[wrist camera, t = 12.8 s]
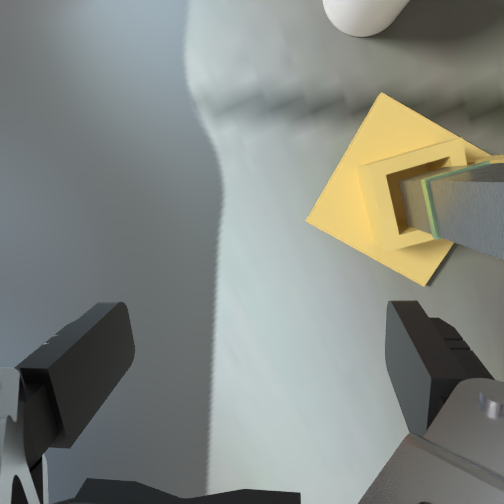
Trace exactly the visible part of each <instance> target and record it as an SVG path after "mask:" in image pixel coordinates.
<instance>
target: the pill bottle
mask: <svg viewBox="0 0 504 504" xmlns="http://www.w3.org/2000/svg"><path fill="white" fill-rule="evenodd" d="M409 1H410V0H323V5H324V9H325V12H326V14H327V16H328V18H329V20H330V21H331V22H332V24H333V25H334V26H335V27H336V28H338V29H339V30H340V31H342V32H344V33H345V34H348V35H351V36H355V37H366V36H371V35H374V34H377V33H379V32H381V31H383V30H384V29H386V28H387V27H388V26H389V25H390V24H392V23H393V22H394V20H395V19H396V18H397V17H398V15H399V14H400V13H401V11H402V10H403V9H404V7H405V6H406V5H407V4H408V2H409Z"/></svg>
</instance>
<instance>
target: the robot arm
mask: <svg viewBox="0 0 504 504" xmlns="http://www.w3.org/2000/svg"><path fill="white" fill-rule="evenodd" d="M134 354H135V346H134V340H133V335H132V329H131V324H130V319H129V313H128V309H127V306H126V305H125V303H123V302H99V303H97V304H96V305H95V306H93V307H92V308H91V309H90V310H88V311H87V312H86V313H85V314H84V315H83V316H81V317H80V318H79V319H78V320H76V321H74V322H72V323H70V324H68V325H66V326H65V327H64V328H62V329H61V330H60V331H59V332H58V333H56V334H55V337H51V338H50V339H49V340H48V341H47V342H45V345H42V346H40V347H39V348H38V349H37V350H36V351H34V352H33V353H32V354H31V355H29V356H28V357H27V358H26V359H24V360H23V361H22V362H21V363H20V364H18V365H17V366H16V367H15V368H0V504H48V480H47V462H46V459H45V455H44V452H45V451H46V450H47V449H48V448H49V447H53V448H70V447H71V446H72V445H73V444H74V442H75V441H76V439H77V438H78V436H79V435H80V434H81V433H82V431H83V430H84V429H85V427H86V426H87V425H88V423H89V422H90V420H91V419H92V418H93V416H94V415H95V414H96V412H97V411H98V410H99V408H100V407H101V405H102V404H103V403H104V401H105V400H106V399H107V397H108V396H109V395H110V393H111V392H112V391H113V389H114V387H115V386H116V385H117V384H118V382H119V381H120V379H121V378H122V377H123V376H124V374H125V373H126V371H127V370H128V369H129V367H130V366H131V364H132V362H133V359H134ZM385 359H386V366H387V371H388V374H389V376H390V379H391V382H392V385H393V388H394V390H395V393H396V396H397V399H398V402H399V404H400V407H401V410H402V413H403V416H404V418H405V421H406V424H407V427H408V430H409V432H410V433H409V434H408V435H407V436H406V437H405V438H404V440H403V441H402V442H401V444H400V445H399V447H398V448H397V449H396V451H395V452H394V454H393V455H392V456H391V458H390V459H389V461H388V462H387V463H386V465H385V466H384V468H383V469H382V470H381V472H380V473H379V475H378V476H377V477H376V479H375V480H374V482H373V483H372V484H371V486H370V487H369V489H368V490H367V491H366V493H365V494H364V496H363V497H362V498H361V500H360V501H359V503H358V504H504V382H501V381H497V380H495V379H494V378H493V377H492V375H491V374H490V373H489V372H488V370H487V369H486V368H485V366H484V365H483V364H482V363H481V361H480V360H479V359H478V357H477V356H476V355H475V354H474V352H473V351H471V350H470V347H469V346H468V345H467V343H466V342H465V341H463V338H462V337H461V336H460V334H459V333H458V332H457V330H456V329H455V328H454V327H453V326H451V325H450V324H448V323H446V322H445V321H443V320H441V319H440V318H429V317H428V316H427V314H426V313H425V311H424V310H423V308H422V307H421V305H420V304H419V302H418V301H389V302H388V305H387V317H386V339H385ZM54 504H301V495H300V493H296V492H282V491H267V490H252V489H241V490H236V491H230V492H224V493H218V494H213V495H207V496H201V497H195V498H188V499H184V498H179V497H177V496H174V495H171V494H168V493H166V492H163V491H160V490H158V489H155V488H152V487H149V486H147V485H144V484H141V483H138V482H135V481H120V480H105V479H90V478H87V479H86V480H85V482H84V484H83V485H82V487H81V489H80V490H79V492H78V493H77V495H76V496H75V498H72V499H68V500H64V501H60V502H57V503H54Z"/></svg>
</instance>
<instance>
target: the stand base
mask: <svg viewBox="0 0 504 504" xmlns="http://www.w3.org/2000/svg"><path fill="white" fill-rule="evenodd" d="M484 161H490V164H493V163H504V155H495V156H491V155H489V154H487V153H486V152H484V151H482V150H480V149H479V148H477V147H475V146H474V145H472V144H470V143H468V142H467V141H465V140H463V139H462V138H460V137H458V136H456V135H455V134H453V133H451V132H449V131H448V130H446V129H444V128H442V127H441V126H439V125H437V124H435V123H434V122H432V121H430V120H429V119H427V118H425V117H423V116H422V115H420V114H418V113H416V112H415V111H413V110H411V109H409V108H408V107H406V106H404V105H403V104H401V103H399V102H397V101H396V100H394V99H392V98H390V97H389V96H387V95H385V94H384V93H380V94H379V95H378V97H377V99H376V100H375V102H374V104H373V106H372V107H371V109H370V111H369V112H368V114H367V116H366V118H365V119H364V121H363V123H362V125H361V126H360V128H359V130H358V131H357V133H356V135H355V137H354V138H353V140H352V142H351V144H350V145H349V147H348V149H347V150H346V152H345V154H344V156H343V157H342V159H341V161H340V162H339V164H338V166H337V168H336V169H335V171H334V173H333V175H332V176H331V178H330V180H329V181H328V183H327V185H326V187H325V188H324V190H323V192H322V194H321V195H320V197H319V199H318V200H317V202H316V204H315V206H314V207H313V209H312V211H311V213H310V214H309V216H308V218H307V219H306V222H308V223H310V224H312V225H313V226H315V227H317V228H319V229H321V230H323V231H324V232H326V233H328V234H330V235H332V236H333V237H335V238H337V239H339V240H341V241H342V242H344V243H346V244H348V245H350V246H351V247H353V248H355V249H357V250H359V251H360V252H362V253H364V254H366V255H368V256H369V257H371V258H373V259H375V260H377V261H379V262H380V263H382V264H384V265H386V266H388V267H389V268H391V269H393V270H395V271H397V272H398V273H400V274H402V275H404V276H406V277H407V278H409V279H411V280H413V281H415V282H416V283H418V284H420V285H422V286H425V285H426V283H427V282H428V280H429V279H430V277H431V276H432V274H433V273H434V271H435V270H436V268H437V267H438V265H439V264H440V263H441V261H442V260H443V258H444V257H445V255H446V254H447V252H448V251H449V249H450V248H451V246H452V245H453V243H454V242H451V241H448V240H446V239H443V238H442V239H438V240H437V239H434V238H433V236H432V234H429V233H426V232H423V231H420V230H418V229H415V228H412V227H409V226H408V224H407V220H406V215H405V211H404V206H403V202H402V197H401V192H400V188H399V183H398V180H402V179H405V178H409V177H412V176H416V175H419V174H422V173H426V172H429V171H433V170H436V169H440V168H443V167H448V166H463V165H473V164H477V163H480V162H484Z"/></svg>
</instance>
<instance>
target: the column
mask: <svg viewBox="0 0 504 504" xmlns="http://www.w3.org/2000/svg"><path fill="white" fill-rule="evenodd" d="M398 183H399V188H400V192H401V197H402V202H403V206H404V211H405V215H406V220H407V224H408V226H409V227H412V228H415V229H418V230H420V231H423V232H426V233H429V234H432V236H433V238H434V239H437V240H438V239H442V238H443V239H446V240H448V241H451V242H454V243H457V244H460V245H463V246H465V247H468V248H471V249H474V250H477V251H479V252H482V253H485V254H488V255H491V256H494V257H496V258H499V259H502V260H504V163H493V164H490V161H484V162H480V163H477V164H473V165H463V166H448V167H443V168H440V169H436V170H433V171H429V172H426V173H422V174H419V175H416V176H412V177H409V178H405V179H402V180H398Z"/></svg>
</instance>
